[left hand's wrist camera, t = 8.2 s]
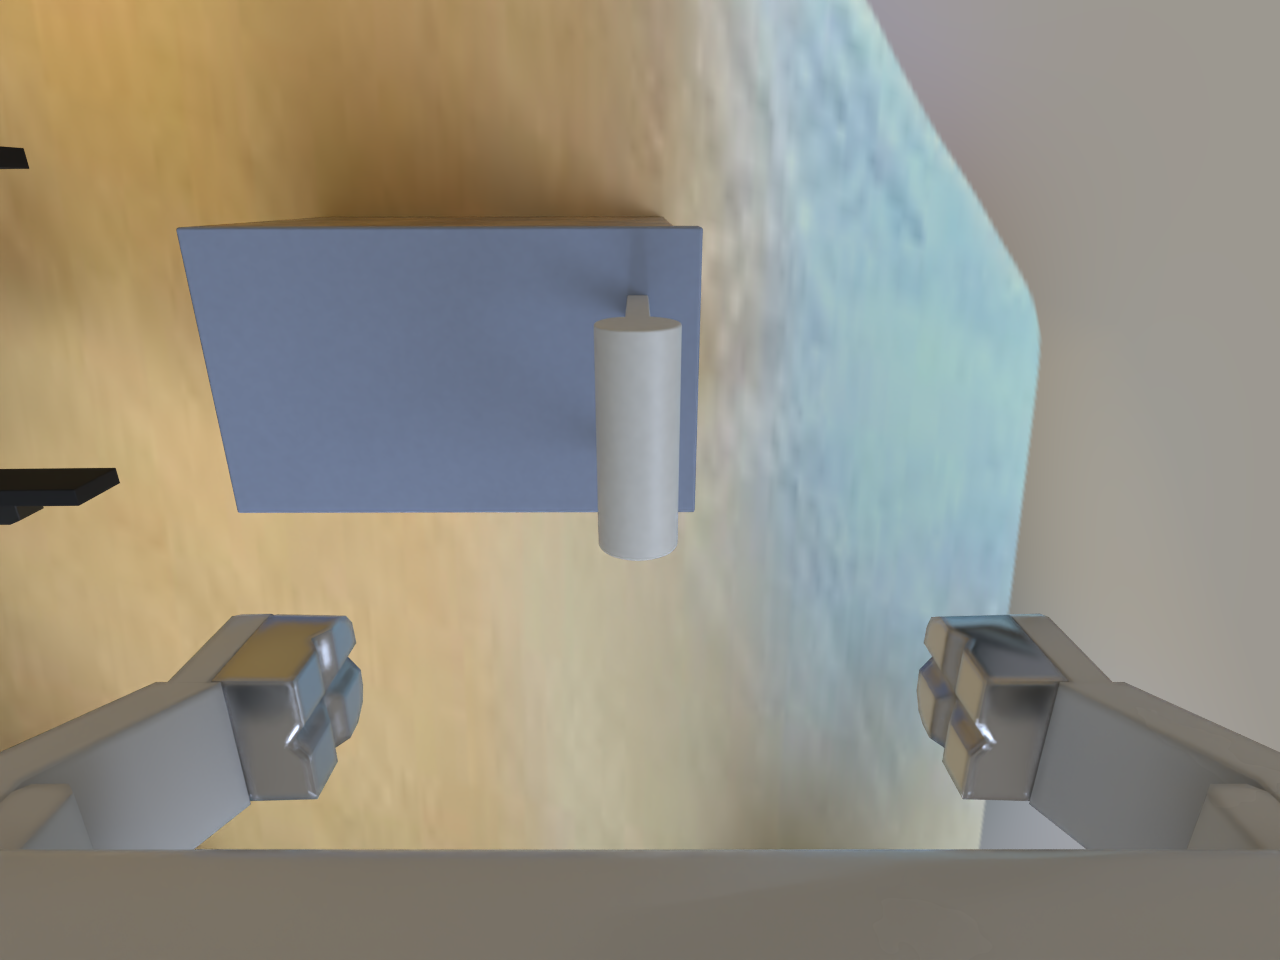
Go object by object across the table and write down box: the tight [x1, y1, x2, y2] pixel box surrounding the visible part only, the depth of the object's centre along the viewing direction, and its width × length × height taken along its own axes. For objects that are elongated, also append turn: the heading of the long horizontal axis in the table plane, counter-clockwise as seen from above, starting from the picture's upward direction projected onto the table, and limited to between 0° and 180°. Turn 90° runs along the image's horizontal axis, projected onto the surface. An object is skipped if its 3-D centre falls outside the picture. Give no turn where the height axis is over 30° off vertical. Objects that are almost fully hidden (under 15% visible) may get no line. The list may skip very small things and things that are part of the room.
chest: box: [208, 217, 673, 226], centre depth 32 cm, size 16×10×11 cm, turn 90°
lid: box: [177, 226, 703, 561], centre depth 22 cm, size 17×10×9 cm, turn 90°
